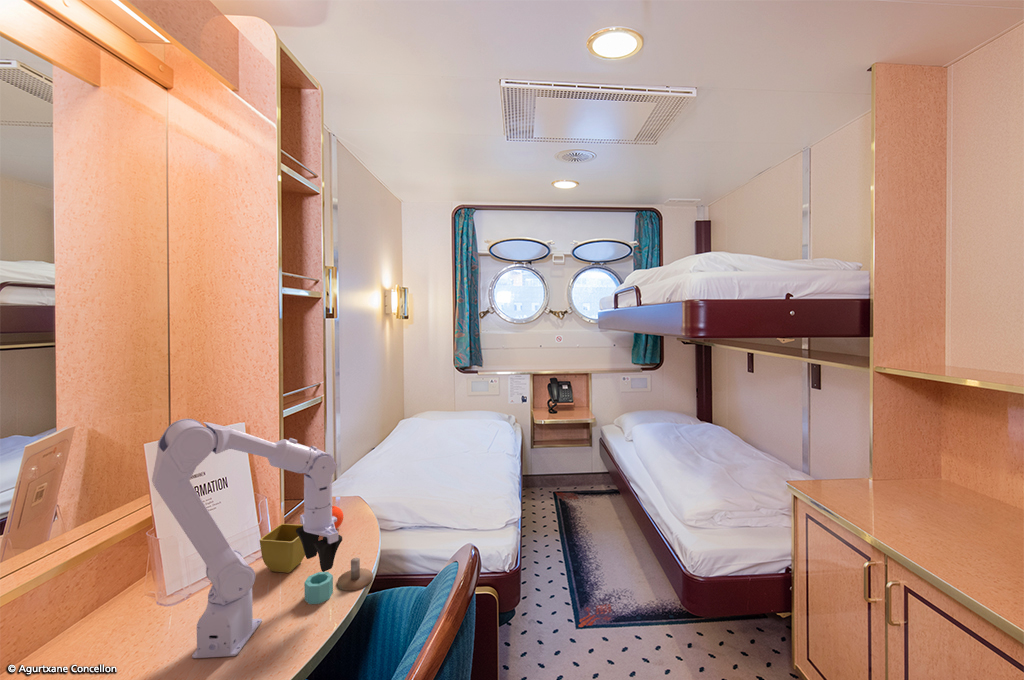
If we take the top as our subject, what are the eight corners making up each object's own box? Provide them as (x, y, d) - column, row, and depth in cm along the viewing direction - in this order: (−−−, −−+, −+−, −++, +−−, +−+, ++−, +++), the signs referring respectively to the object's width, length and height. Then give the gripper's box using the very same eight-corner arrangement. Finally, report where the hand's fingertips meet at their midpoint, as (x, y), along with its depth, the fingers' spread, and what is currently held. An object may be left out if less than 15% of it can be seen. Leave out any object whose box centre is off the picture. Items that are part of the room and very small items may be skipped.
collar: (326, 603, 92) (326, 585, 92) (301, 604, 92) (301, 586, 92) (335, 588, 98) (335, 571, 98) (311, 589, 97) (311, 572, 97)
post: (368, 590, 97) (367, 568, 97) (332, 591, 97) (332, 570, 97) (376, 570, 105) (376, 550, 105) (343, 571, 105) (343, 551, 104)
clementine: (325, 539, 121) (325, 514, 120) (310, 533, 124) (310, 509, 124) (348, 527, 127) (348, 504, 127) (333, 522, 131) (333, 499, 131)
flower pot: (313, 558, 110) (312, 525, 110) (292, 578, 102) (292, 542, 101) (281, 556, 111) (281, 523, 111) (258, 576, 103) (258, 539, 102)
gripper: (351, 507, 93) (351, 567, 93) (321, 490, 102) (321, 545, 103) (319, 518, 87) (320, 582, 88) (290, 499, 97) (291, 557, 97)
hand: (318, 563), depth 95 cm, fingers open, 7 cm apart
